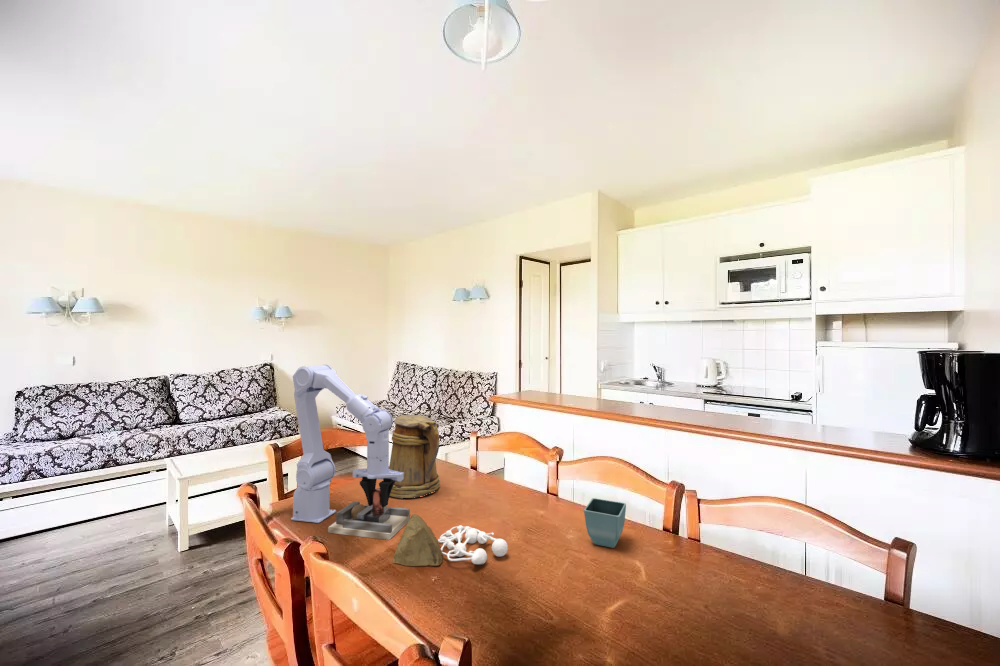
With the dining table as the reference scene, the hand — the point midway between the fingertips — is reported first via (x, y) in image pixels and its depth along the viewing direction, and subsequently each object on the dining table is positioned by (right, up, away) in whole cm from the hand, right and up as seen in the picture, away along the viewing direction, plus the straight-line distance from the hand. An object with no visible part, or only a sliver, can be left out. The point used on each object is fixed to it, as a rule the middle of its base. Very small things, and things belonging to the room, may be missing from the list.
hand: (378, 505), depth 111 cm
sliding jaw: (-1, -4, 0) cm, 4 cm away
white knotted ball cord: (+26, -6, -13) cm, 30 cm away
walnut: (-6, -3, +1) cm, 6 cm away
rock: (+15, -6, -18) cm, 24 cm away
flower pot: (+60, -5, -10) cm, 61 cm away
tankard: (+5, -7, +26) cm, 28 cm away
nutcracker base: (-2, -6, 0) cm, 6 cm away
